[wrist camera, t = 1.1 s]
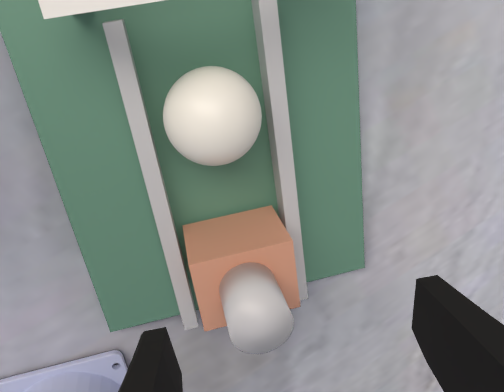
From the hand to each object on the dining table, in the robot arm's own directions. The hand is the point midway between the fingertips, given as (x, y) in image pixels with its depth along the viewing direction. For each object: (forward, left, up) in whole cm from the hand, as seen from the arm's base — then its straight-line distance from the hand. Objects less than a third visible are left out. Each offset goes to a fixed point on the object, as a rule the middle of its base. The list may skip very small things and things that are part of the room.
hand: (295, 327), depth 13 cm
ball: (+4, 0, -10) cm, 11 cm away
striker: (-4, 0, -12) cm, 13 cm away
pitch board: (+3, 0, -13) cm, 13 cm away
